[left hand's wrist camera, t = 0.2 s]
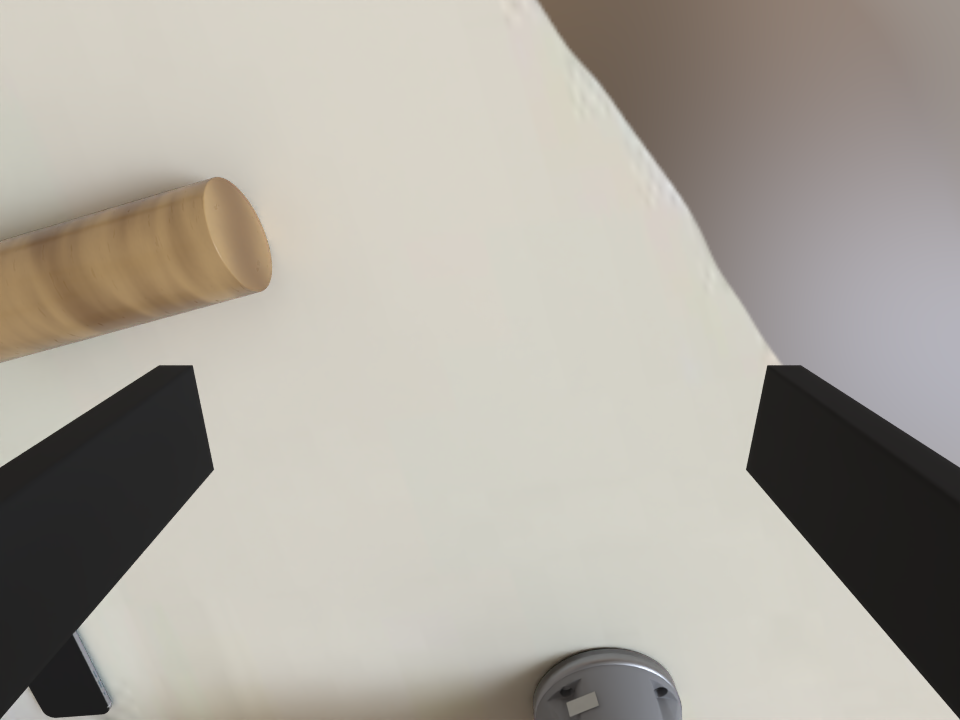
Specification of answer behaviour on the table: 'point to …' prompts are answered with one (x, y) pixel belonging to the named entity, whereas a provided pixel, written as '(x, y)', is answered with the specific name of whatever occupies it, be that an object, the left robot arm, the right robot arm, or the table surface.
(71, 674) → the smartphone
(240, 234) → the brown cylinder
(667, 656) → the table surface
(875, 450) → the left robot arm
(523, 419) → the table surface
